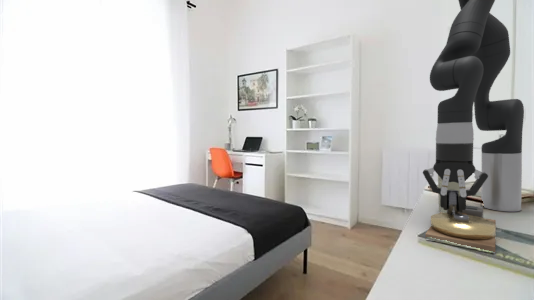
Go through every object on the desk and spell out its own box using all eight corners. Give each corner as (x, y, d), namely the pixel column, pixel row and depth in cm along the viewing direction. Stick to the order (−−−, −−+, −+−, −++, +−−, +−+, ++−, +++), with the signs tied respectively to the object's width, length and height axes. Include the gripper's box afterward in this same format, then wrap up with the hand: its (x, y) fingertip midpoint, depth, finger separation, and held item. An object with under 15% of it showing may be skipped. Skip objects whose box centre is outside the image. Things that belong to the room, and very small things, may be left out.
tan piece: (439, 217, 74) (439, 201, 74) (495, 225, 66) (495, 207, 66) (425, 240, 59) (425, 220, 59) (495, 254, 51) (495, 231, 51)
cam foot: (424, 219, 68) (424, 189, 68) (478, 221, 65) (478, 190, 64) (440, 236, 57) (440, 200, 56) (508, 241, 53) (508, 202, 53)
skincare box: (464, 217, 74) (464, 174, 73) (447, 216, 75) (447, 174, 74) (453, 210, 80) (453, 171, 79) (437, 210, 81) (437, 171, 80)
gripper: (420, 142, 65) (419, 210, 66) (493, 142, 57) (491, 219, 58) (422, 141, 71) (421, 203, 72) (488, 141, 63) (486, 210, 64)
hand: (452, 210), depth 65 cm, fingers closed on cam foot, 2 cm apart
